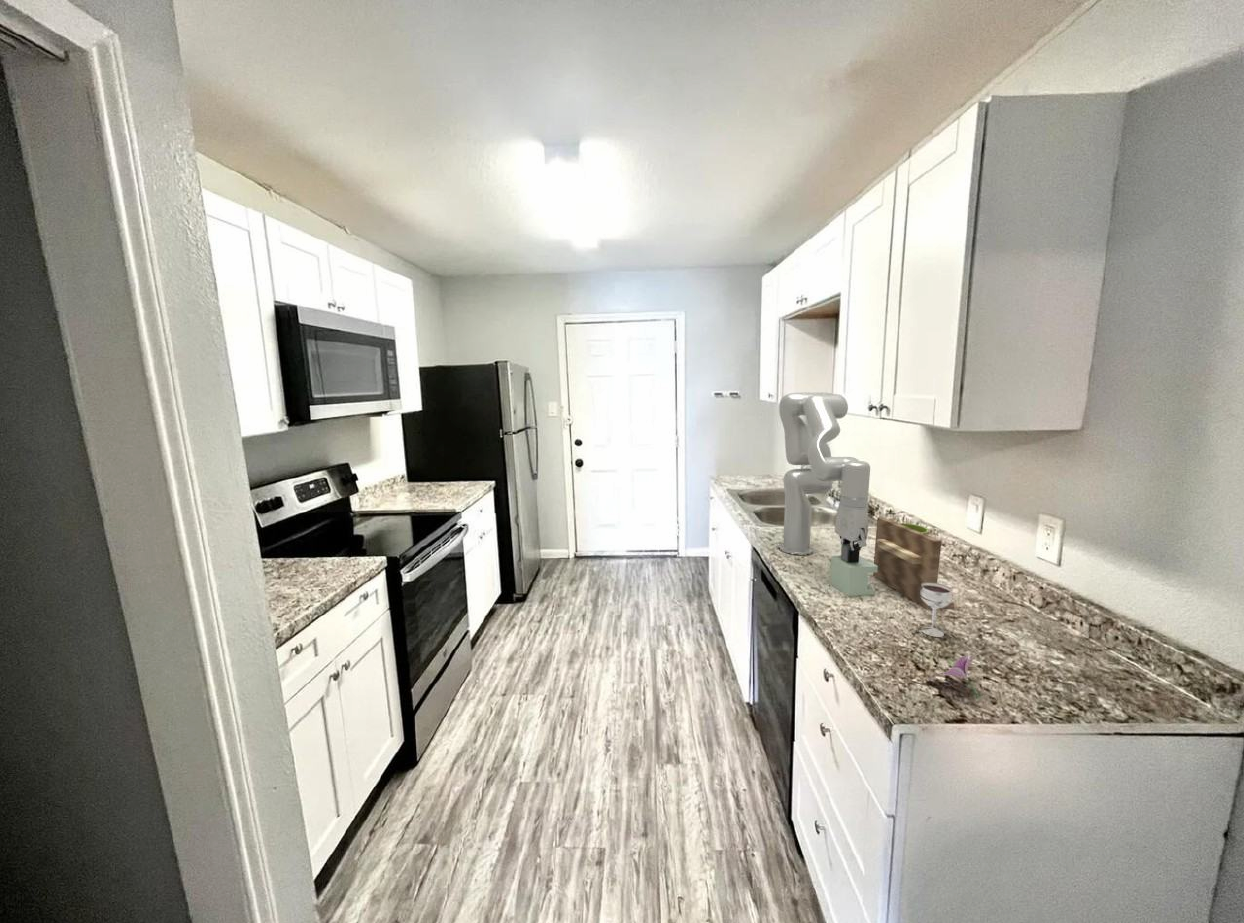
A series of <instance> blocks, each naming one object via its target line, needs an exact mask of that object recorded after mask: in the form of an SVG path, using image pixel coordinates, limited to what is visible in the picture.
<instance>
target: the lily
mask: <svg viewBox="0 0 1244 923" xmlns="http://www.w3.org/2000/svg"><path fill="white" fill-rule="evenodd" d="M983 652H984V650H982V651H979V652H976V654H974V655H973V654H970V655H968V653H967V654H964V655H963V656H961V657H960V658H958V659H956V660H952V659H948V662H949V663H950V664H951V668H949V669H948V670H946V671H944V672H940V673H936V674H935V675H933V676H931V677H929V678H928V679H927V680H926V681H925V683H927V682H928V681H930V680H932V679H933V678H935V677H937V676H942V675H945V676H951V677H956V678H961V679H964V680H966V681H967V683H968V685H969V686H970V687H971V689H972V691H973V693H974V695H975V697H976V699H977V698H979V696H978V694H977V692H976V690H975V688H974V686H973V685H972V683H971V681H970V679H969V678H968V669H969V668H968V667H969V665H970V662H971V661H972V660H973V659H974V658H975V657H976V656H978V655H980V654H981V653H983Z"/></svg>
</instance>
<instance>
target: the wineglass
mask: <svg viewBox="0 0 1244 923" xmlns="http://www.w3.org/2000/svg"><path fill="white" fill-rule="evenodd" d="M921 586H922V589H921V590H920V596H921V599H922V600H923V601H924V602H925V603H926V604H927V605H929V606H931V608H932V609H931V610H932V612H931V613H932V616H931V626H923V627H921V628H920V631H921V632H922V633H924V634H925V635H928V636H931V637H934V638H941V637H943V636H945V635H944V634H945V633H944V632H943V631H941V630H940V629H937V628H935V627H934V626H935V620H936V615H937V614H936V613H937V610H939V609H938V608H944V607H946V606H948V605H949V604H950V603H951V601H952V602H953V595H952V593H953V588H951V587H950V586H949V585H946V584H943V583H939V582H937V583H934V582H924V583H922V584H921ZM944 609H945V608H944Z"/></svg>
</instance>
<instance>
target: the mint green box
mask: <svg viewBox="0 0 1244 923" xmlns="http://www.w3.org/2000/svg"><path fill="white" fill-rule="evenodd" d="M855 544H856V543H854V545H855ZM841 546H842V547H841V548H840V555H831V556H830V570H829V571H830V572H829V584H831V585H832V586H834V587H835V588H836V589H838V590H839V591H840V592H842V593H843V594H845V595H846V596H847V597H855V596H856V597H857V596H859V595H860V596H871V595H872V596H873V595H874V596H875V595H876V592H877V591H876V589H875V588H874V587H872V586H870V585H869V584H868V582H869V574H873V573H877V568H878V566H877V565H875V564H874V562H871V561H870V560H868V559H867V558H865V557H862V556H861V555H859V562H854V563H849V562H848V555H849V550H850V544H842V545H841Z"/></svg>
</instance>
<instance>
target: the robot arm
mask: <svg viewBox="0 0 1244 923" xmlns="http://www.w3.org/2000/svg"><path fill="white" fill-rule="evenodd" d="M847 401H848V400H847V399H846V398H845V397H844V396H843V395H841V394H838V393H831V392H819V391H818V392H804V391H803V392H791V393H788V394H785V395H784V396H782V397H781V399H780V402H779V406H778V409H779V410H778V411H779V412H778V413H779V418H780V420H781V423H782V427H783V431H784V446H785V456H786V457H785V458H786V461H787V463H788V464H789V465H790V466H791V465H793V466H810V468H793V469H790V470H788V471H786V472H785V474H784V476H783V488H784V518H783V519H784V520H783V535H782V536H781V537H782V538H783V542H781V543H780V544H779V545H778V549H779V548H780V549H779V550H780V551H781V550H782V551H781V552H782V553H785V552H786V553H785V554H788V553H793V554H799V555H798V556H808V555H807V554H809V555H812V554H813V553H814V551H815V549H814V547H813V546H811V527H812V510H813V509H812V503H811V501H810V500H809V499H808V497H807V495H819V494H827V493H830V491H831V490H832V488H833V483H834V482H835V481H837V482H838V481H839V482H840V492H839V493H840V494H839V495H840V496H839V504H838V506H837V511H836V517H835V522H834V523H835V525H834V532H835V534H836V535H838V537H839V539H840V545H841V547H842V544H850V550H849V555H848V562H849V563H854V562H859V556H860V551H862V548H863V547H867V539H868V535H869V534H868V533H869V514H868V504H869V490H870V489H869V488H870V480H871V479H870V476H871V465H870V463H868V462H867V461H863V460H859V459H858V458H856V457H854V456H832V453H831V448H830V446H829V444H828V443H829V442H831V441H833V440H834V439H836V438H837V437H838V436H839V435H840V433H841V427H840V425H839V422H838V420H837V419H842V418H843V419H844V417H845V416H846V415H847V413H848V410H849V404H848V402H847ZM800 416H805V417H806V420H807V423H808V425H809V427H808V425H807V424H806V422H805V421H804V420H803V419H802V417H800ZM809 428H810V430H811V434H812V435H813V437H812V439H810V437H809ZM854 544H855V545H854ZM811 553H812V554H811ZM793 554H792V555H793Z"/></svg>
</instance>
